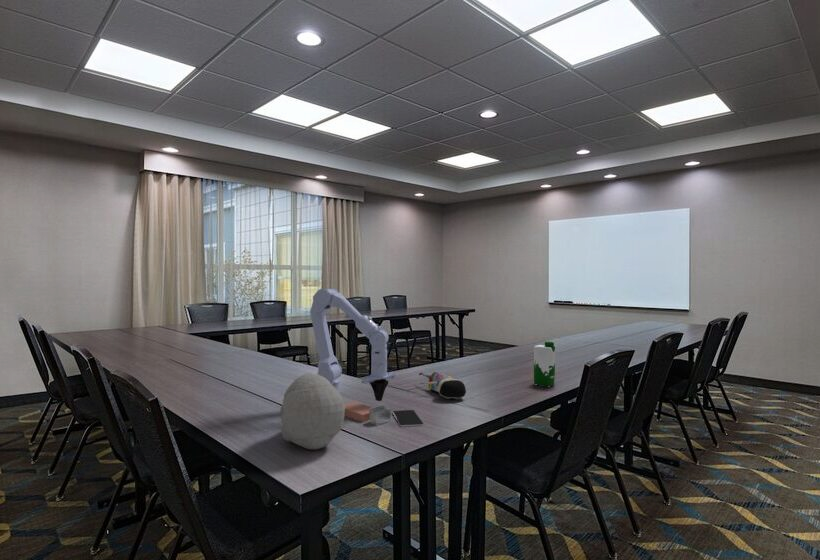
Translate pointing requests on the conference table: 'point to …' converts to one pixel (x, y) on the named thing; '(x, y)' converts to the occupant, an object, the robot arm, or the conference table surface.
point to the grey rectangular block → (379, 415)
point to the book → (357, 411)
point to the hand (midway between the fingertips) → (378, 400)
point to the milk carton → (544, 364)
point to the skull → (311, 412)
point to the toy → (446, 385)
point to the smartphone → (407, 418)
